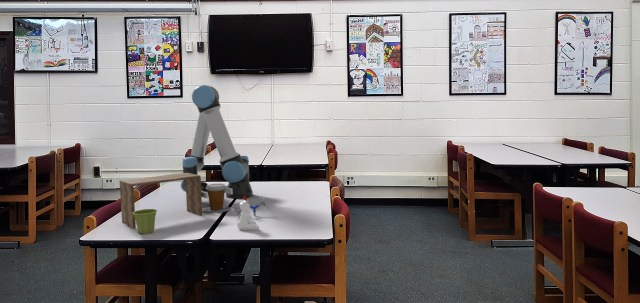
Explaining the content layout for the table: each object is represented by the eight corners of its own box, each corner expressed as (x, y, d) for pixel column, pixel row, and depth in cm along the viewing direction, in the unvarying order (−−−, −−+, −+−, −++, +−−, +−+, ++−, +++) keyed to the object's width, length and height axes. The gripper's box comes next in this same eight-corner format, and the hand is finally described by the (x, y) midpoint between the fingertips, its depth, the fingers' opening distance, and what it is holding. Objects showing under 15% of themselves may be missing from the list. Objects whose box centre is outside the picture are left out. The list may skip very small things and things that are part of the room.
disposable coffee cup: (221, 211, 224) (221, 186, 222) (203, 210, 226) (202, 186, 224) (229, 207, 233) (228, 183, 232) (212, 206, 235) (211, 183, 234)
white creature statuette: (260, 230, 189) (259, 201, 188) (239, 232, 186) (238, 203, 185) (255, 225, 198) (254, 197, 196) (235, 227, 195) (234, 199, 194)
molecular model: (268, 212, 220) (264, 192, 221) (272, 213, 212) (268, 191, 213) (231, 220, 214) (227, 199, 215) (234, 220, 206) (230, 198, 207)
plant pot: (136, 236, 183) (135, 215, 182) (131, 231, 191) (130, 210, 190) (160, 232, 188) (159, 212, 187) (155, 227, 196) (154, 207, 195)
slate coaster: (231, 205, 237) (231, 205, 237) (231, 211, 224) (231, 211, 224) (203, 207, 235) (203, 206, 235) (201, 213, 221) (201, 213, 221)
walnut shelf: (122, 222, 206) (119, 180, 204) (188, 210, 227) (187, 172, 226) (133, 228, 196) (130, 184, 194) (202, 215, 217) (200, 175, 215)
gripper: (220, 192, 250) (241, 197, 235) (177, 198, 234) (196, 205, 218) (220, 178, 250) (241, 182, 234) (176, 184, 233) (195, 189, 217)
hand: (219, 193), depth 226 cm, fingers open, 13 cm apart
